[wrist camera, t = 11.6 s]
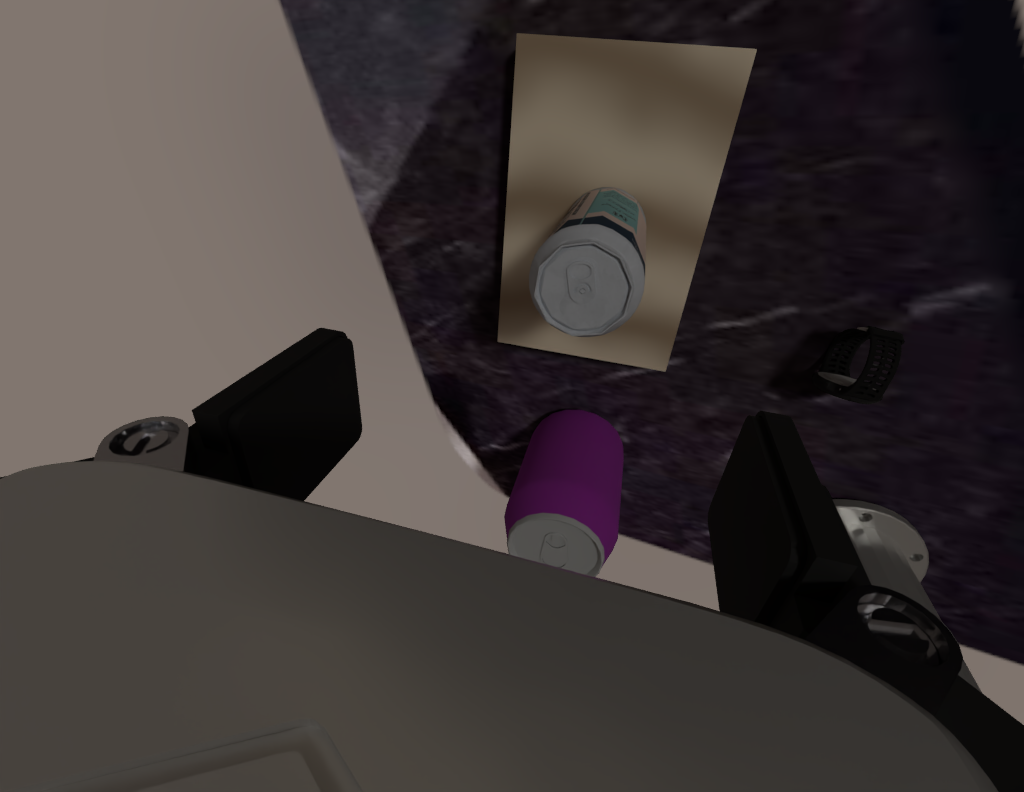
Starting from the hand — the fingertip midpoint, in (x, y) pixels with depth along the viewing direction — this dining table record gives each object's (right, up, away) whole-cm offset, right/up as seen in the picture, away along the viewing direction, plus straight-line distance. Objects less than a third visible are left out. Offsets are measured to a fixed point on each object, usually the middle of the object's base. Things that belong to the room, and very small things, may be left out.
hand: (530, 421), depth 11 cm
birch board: (+5, +12, +19) cm, 23 cm away
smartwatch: (+21, +4, +20) cm, 29 cm away
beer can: (+5, +11, +18) cm, 22 cm away
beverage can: (+5, -3, +29) cm, 30 cm away
